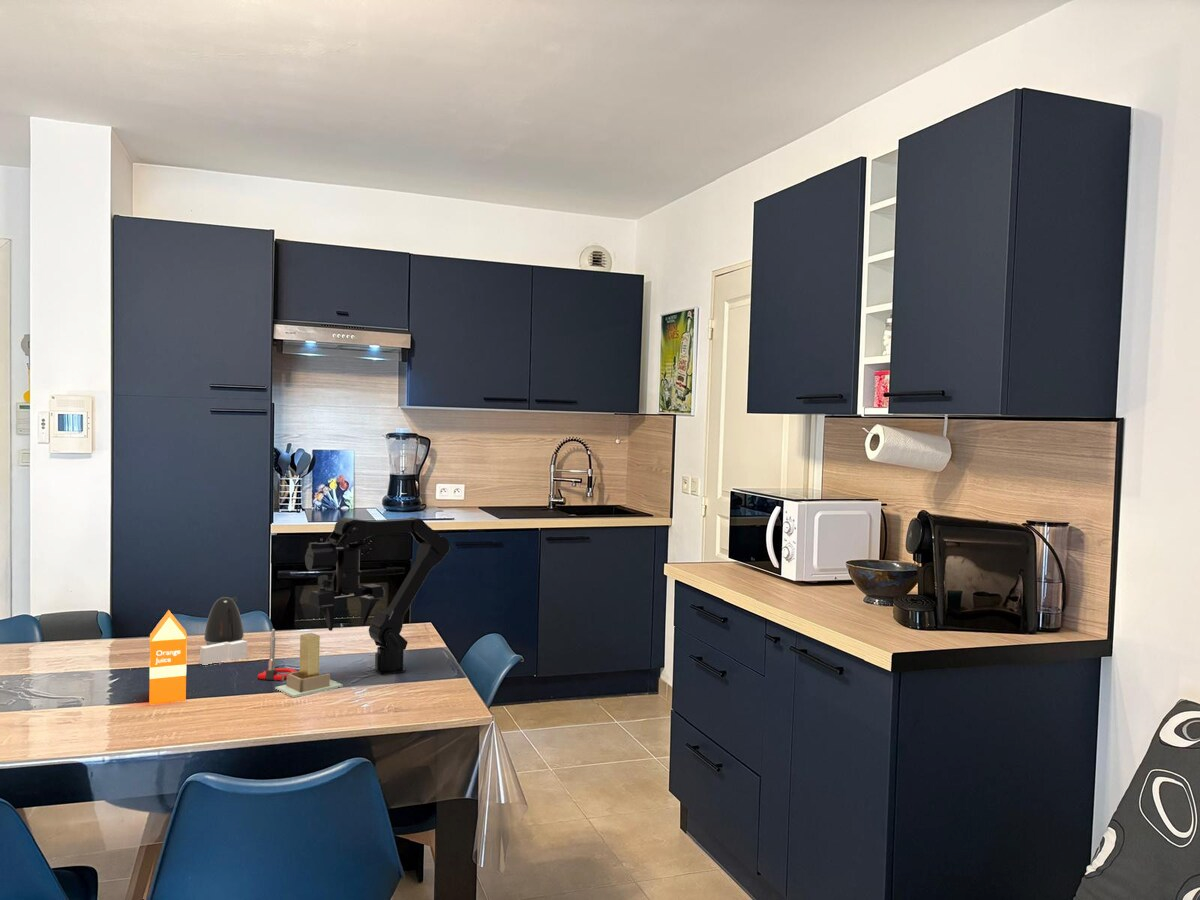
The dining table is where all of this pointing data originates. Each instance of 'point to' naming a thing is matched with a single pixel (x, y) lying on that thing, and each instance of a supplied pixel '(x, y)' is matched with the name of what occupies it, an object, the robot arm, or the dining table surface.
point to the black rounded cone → (224, 622)
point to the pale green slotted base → (307, 684)
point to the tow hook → (272, 672)
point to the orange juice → (167, 661)
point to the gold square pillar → (309, 655)
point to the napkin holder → (223, 652)
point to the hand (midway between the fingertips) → (346, 627)
